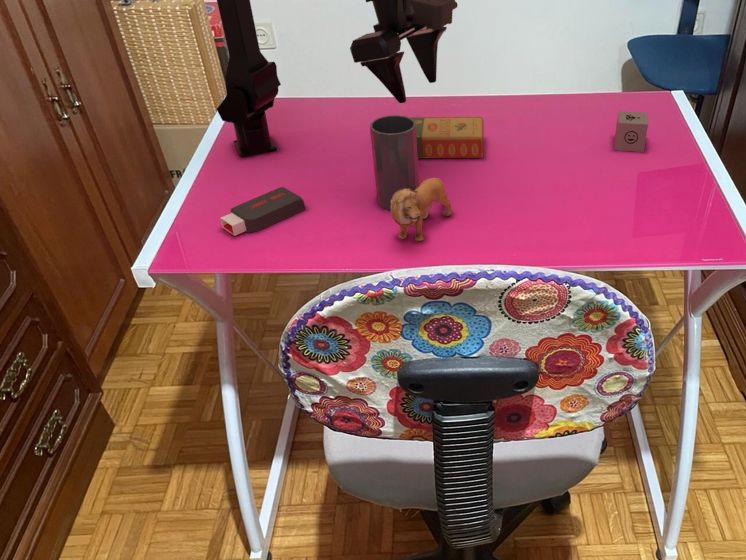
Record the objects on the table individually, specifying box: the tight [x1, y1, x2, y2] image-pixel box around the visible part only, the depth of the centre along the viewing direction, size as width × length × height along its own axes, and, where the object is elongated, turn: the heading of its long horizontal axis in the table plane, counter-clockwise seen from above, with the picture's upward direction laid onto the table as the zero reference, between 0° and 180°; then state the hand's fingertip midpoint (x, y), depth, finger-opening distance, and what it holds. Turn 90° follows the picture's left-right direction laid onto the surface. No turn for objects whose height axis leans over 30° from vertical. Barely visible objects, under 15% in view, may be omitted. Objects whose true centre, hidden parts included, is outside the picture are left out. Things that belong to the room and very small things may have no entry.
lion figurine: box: [390, 177, 452, 242], centre depth 105 cm, size 15×5×9 cm, turn 159°
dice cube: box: [614, 110, 649, 153], centre depth 127 cm, size 5×5×5 cm
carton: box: [409, 116, 484, 159], centre depth 126 cm, size 8×16×4 cm, turn 88°
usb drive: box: [219, 186, 306, 237], centre depth 109 cm, size 5×12×3 cm, turn 136°
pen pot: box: [369, 114, 420, 211], centre depth 110 cm, size 7×7×12 cm
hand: (418, 92), depth 108 cm, fingers open, 9 cm apart
